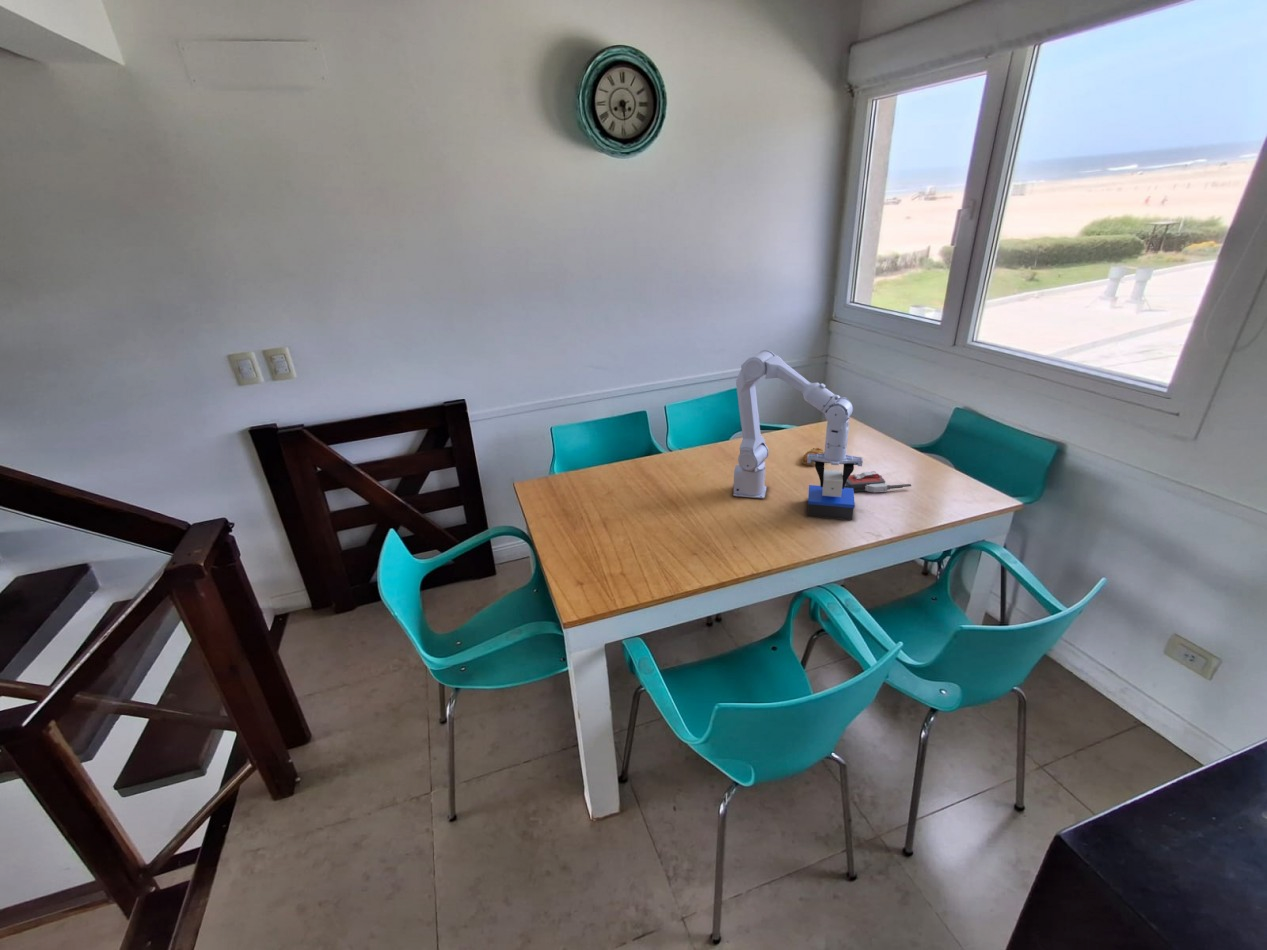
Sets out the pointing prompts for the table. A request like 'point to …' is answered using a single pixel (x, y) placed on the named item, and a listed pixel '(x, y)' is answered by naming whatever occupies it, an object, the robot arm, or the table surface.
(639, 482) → the table surface
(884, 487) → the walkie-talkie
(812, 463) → the pastry
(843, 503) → the container
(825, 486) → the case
